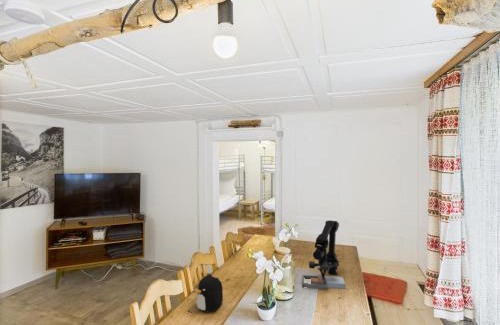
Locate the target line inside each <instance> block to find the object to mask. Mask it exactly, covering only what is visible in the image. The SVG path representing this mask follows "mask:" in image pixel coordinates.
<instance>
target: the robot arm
mask: <svg viewBox="0 0 500 325" xmlns="http://www.w3.org/2000/svg"><path fill="white" fill-rule="evenodd" d="M339 227H340V223H339V221H338V220H337V221H336V220H330V219H329V220H326V221H325V225H324V227H323V229H322V231H321V233H320V234H318V236H317V237H316V238H315V242H314V248H316V249H315V251H313V253H312V257H313V259H315V260H317V261H318V262H317V263H316V262H315V260H314V261H312V260H311V261H308V269H315V268H317V270H319V272H320V275H322V278H324V276H326V272H327V274H328V275H330V276H331V275H333V276H337V275H338V271H337V270H338V267H340V261H339V259H338V256H337V253H336V234H337V232H338V231H339ZM327 248H328V251H327Z"/></svg>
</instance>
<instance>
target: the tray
mask: <svg viewBox="0 0 500 325" xmlns="http://www.w3.org/2000/svg"><path fill="white" fill-rule="evenodd" d="M325 276H326V275H324V278H322V283H323V284H319V283H318V284H308V283H304V278H305V279H311V278H318V275H310V274H308V275H307V274H302V275H301V280H302V282H301V283H302V284H303V285H302V284H301V285H302V288H303V287H307V288H306V289H315V288H317V289H318V290H319V289H320V290H328V288H327V285H326V282H325Z"/></svg>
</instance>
